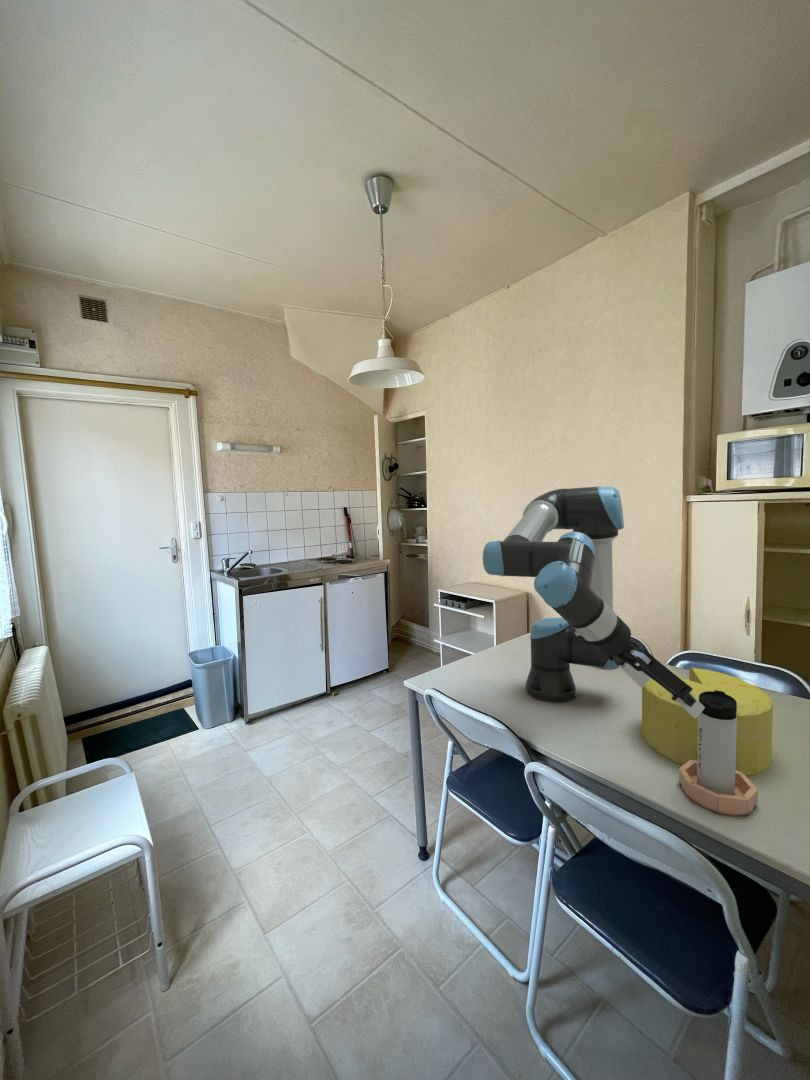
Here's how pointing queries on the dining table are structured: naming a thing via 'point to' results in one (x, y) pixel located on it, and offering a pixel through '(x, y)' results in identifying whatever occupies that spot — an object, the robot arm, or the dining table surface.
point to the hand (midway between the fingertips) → (669, 696)
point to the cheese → (679, 730)
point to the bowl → (717, 802)
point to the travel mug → (717, 742)
